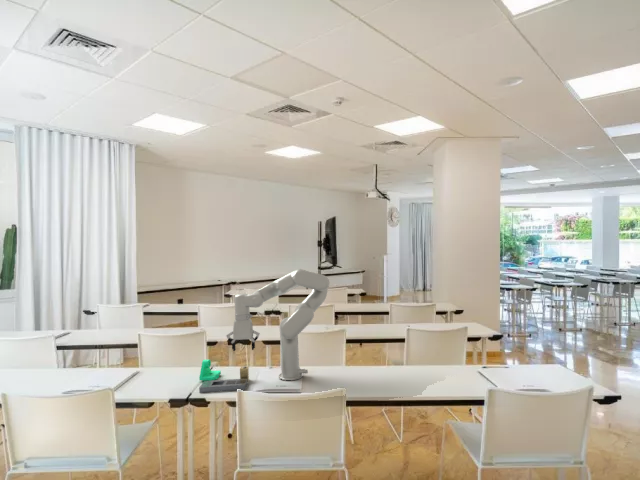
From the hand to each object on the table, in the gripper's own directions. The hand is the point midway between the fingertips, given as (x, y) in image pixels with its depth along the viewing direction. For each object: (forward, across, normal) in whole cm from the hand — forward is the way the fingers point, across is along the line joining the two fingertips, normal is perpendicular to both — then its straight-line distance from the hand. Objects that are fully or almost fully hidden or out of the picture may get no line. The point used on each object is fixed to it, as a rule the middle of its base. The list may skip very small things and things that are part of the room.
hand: (243, 350), depth 204 cm
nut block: (+16, 0, 0) cm, 16 cm away
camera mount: (+16, +19, -8) cm, 27 cm away
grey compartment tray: (+16, +9, +9) cm, 21 cm away
